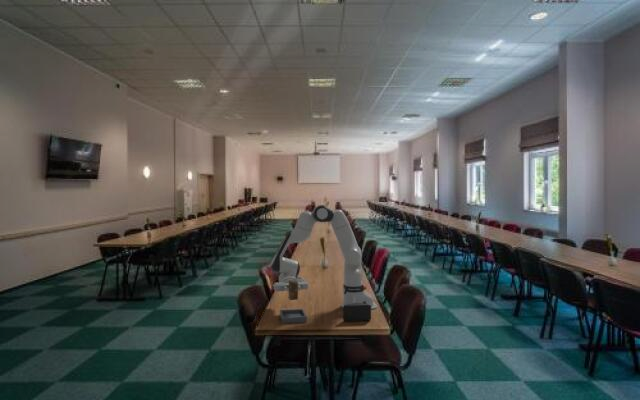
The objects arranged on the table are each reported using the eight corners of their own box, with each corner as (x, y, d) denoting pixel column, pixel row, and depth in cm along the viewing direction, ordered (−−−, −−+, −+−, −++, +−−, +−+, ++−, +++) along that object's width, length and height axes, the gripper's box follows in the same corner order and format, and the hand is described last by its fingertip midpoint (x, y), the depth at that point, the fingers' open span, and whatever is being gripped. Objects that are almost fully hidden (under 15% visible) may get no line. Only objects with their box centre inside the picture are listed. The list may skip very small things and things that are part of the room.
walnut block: (296, 297, 213) (296, 280, 213) (297, 299, 209) (297, 282, 208) (288, 297, 212) (288, 280, 212) (290, 300, 207) (290, 282, 207)
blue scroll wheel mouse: (369, 318, 212) (369, 302, 211) (371, 321, 207) (371, 304, 207) (341, 319, 210) (342, 303, 209) (343, 322, 205) (343, 305, 205)
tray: (303, 313, 218) (303, 308, 218) (307, 322, 205) (307, 316, 205) (280, 315, 216) (280, 310, 216) (282, 323, 202) (282, 318, 202)
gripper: (272, 279, 220) (275, 285, 206) (304, 277, 225) (310, 283, 212) (272, 289, 220) (275, 296, 206) (304, 287, 225) (310, 293, 212)
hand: (293, 289), depth 209 cm, fingers closed on walnut block, 4 cm apart
